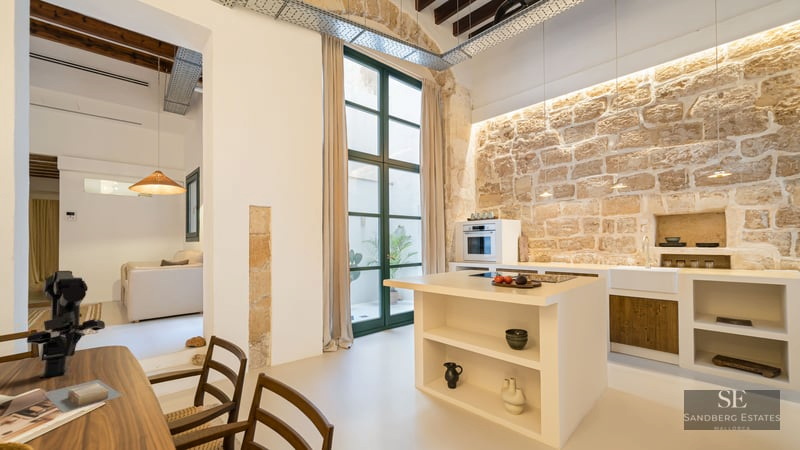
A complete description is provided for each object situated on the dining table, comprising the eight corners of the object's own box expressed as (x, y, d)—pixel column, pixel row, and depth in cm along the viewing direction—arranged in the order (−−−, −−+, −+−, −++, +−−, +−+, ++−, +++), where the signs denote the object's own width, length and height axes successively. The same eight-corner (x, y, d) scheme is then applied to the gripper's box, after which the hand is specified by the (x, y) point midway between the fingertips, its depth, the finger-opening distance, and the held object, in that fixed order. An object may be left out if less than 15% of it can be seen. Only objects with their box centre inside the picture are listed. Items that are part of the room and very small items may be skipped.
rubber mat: (42, 394, 106) (42, 393, 106) (98, 380, 118) (98, 379, 118) (62, 414, 95) (63, 412, 95) (122, 396, 107) (123, 395, 107)
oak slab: (68, 389, 104) (79, 397, 99) (97, 382, 110) (108, 389, 105) (67, 397, 104) (78, 406, 98) (96, 390, 110) (107, 398, 104)
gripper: (16, 314, 106) (11, 364, 100) (88, 299, 112) (87, 345, 107) (40, 320, 115) (37, 366, 110) (105, 306, 122) (105, 348, 117)
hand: (66, 356), depth 111 cm, fingers closed
